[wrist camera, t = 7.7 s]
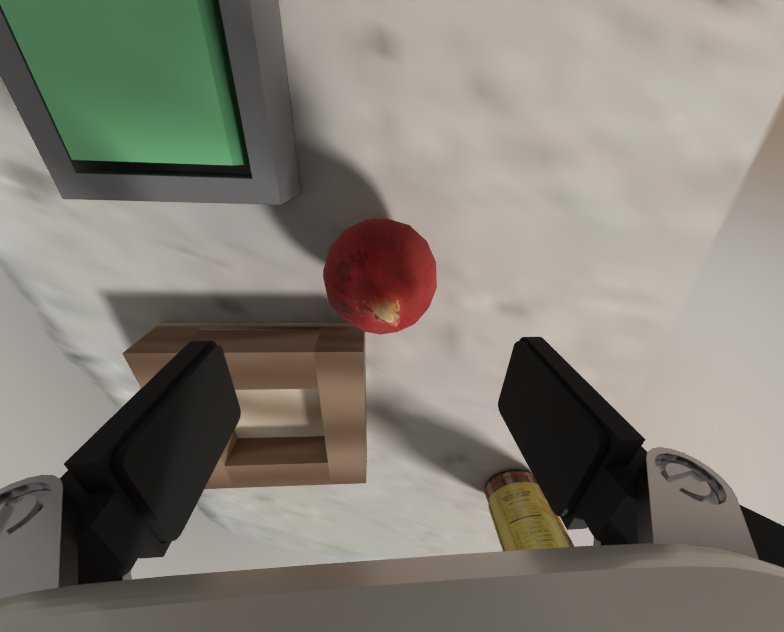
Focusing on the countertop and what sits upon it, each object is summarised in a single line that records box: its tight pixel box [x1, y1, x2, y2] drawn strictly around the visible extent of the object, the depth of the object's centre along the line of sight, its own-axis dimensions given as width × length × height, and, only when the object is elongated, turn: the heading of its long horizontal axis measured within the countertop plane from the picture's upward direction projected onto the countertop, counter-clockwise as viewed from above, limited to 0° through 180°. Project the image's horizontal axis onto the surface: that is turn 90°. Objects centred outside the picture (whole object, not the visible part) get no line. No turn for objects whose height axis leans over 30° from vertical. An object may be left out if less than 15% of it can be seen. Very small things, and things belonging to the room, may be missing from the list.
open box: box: [122, 323, 367, 489], centre depth 22 cm, size 14×14×4 cm
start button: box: [0, 0, 250, 165], centre depth 11 cm, size 6×6×3 cm
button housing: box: [0, 0, 301, 205], centre depth 12 cm, size 9×9×4 cm
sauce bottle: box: [485, 471, 574, 551], centre depth 23 cm, size 6×6×20 cm
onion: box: [323, 219, 437, 334], centre depth 15 cm, size 6×6×8 cm
